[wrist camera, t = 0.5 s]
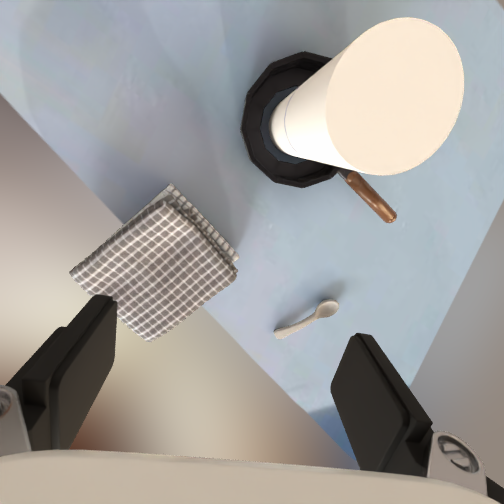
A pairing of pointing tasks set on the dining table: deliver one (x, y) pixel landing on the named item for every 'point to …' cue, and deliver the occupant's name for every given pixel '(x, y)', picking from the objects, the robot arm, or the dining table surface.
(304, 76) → the pan
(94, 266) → the towel
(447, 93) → the cylindrical container
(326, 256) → the dining table surface
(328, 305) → the spoon
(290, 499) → the robot arm
